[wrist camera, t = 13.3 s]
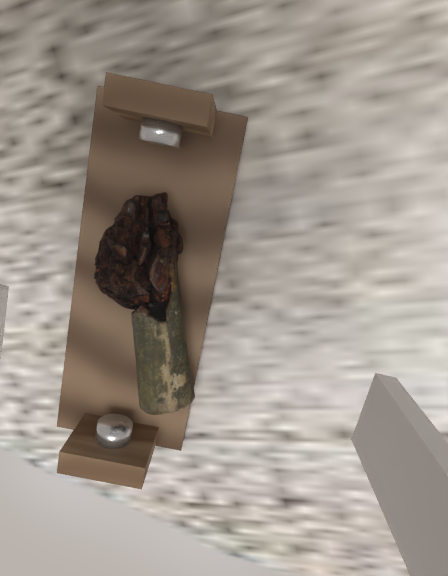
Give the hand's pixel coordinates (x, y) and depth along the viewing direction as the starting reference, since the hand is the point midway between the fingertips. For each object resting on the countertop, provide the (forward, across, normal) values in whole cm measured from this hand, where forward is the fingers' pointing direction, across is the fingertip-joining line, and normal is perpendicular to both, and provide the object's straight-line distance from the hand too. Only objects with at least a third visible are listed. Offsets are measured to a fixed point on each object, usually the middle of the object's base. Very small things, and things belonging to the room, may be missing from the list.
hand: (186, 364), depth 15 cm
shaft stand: (+23, -6, -4) cm, 24 cm away
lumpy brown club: (+22, -5, -5) cm, 23 cm away
